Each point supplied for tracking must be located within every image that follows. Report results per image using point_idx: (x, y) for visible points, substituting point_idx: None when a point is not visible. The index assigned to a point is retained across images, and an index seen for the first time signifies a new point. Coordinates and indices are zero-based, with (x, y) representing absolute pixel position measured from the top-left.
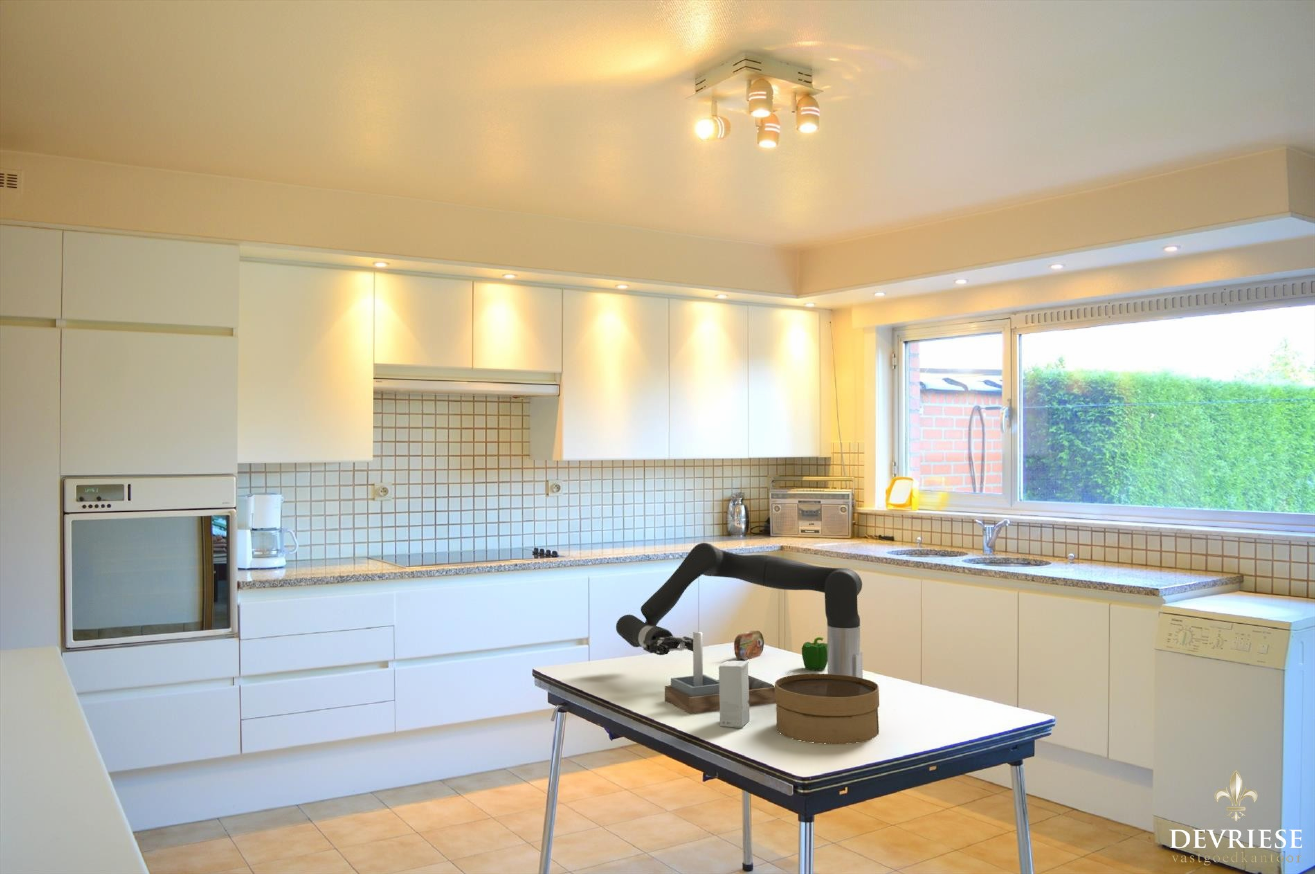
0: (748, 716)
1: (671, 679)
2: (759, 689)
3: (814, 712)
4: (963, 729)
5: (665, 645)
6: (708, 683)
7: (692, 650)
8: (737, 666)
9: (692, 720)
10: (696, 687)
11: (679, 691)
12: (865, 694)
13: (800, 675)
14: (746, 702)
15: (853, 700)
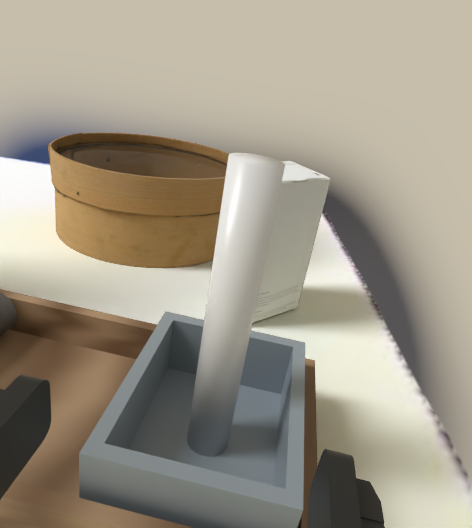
0: None
1: (301, 505)
2: (51, 301)
3: None
4: (18, 169)
5: (333, 491)
6: (131, 413)
7: (38, 442)
8: (295, 163)
9: (330, 363)
10: (287, 339)
11: (304, 438)
12: (76, 161)
13: (107, 172)
14: None
15: (188, 147)
